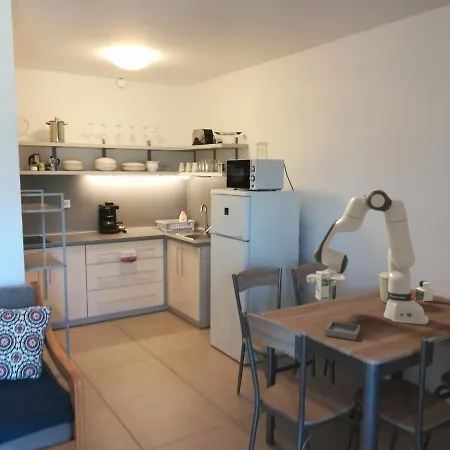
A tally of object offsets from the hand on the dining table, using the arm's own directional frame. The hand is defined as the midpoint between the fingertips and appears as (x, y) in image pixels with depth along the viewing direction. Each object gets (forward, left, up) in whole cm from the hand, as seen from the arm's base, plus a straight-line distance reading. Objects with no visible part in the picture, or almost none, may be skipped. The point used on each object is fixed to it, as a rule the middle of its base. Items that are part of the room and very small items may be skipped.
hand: (322, 283), depth 239 cm
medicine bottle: (-47, -70, -21) cm, 87 cm away
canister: (-30, -56, -21) cm, 67 cm away
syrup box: (0, -1, -9) cm, 9 cm away
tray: (-13, +13, -21) cm, 28 cm away
